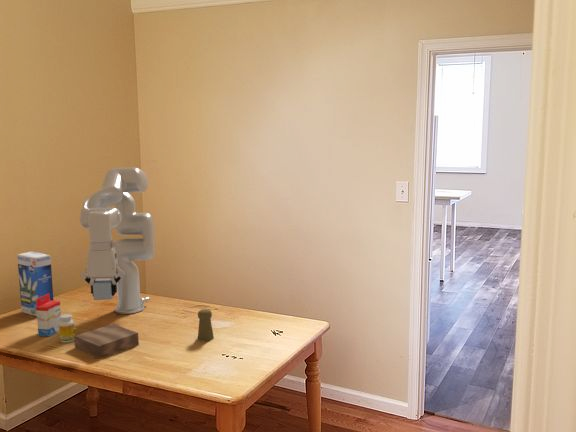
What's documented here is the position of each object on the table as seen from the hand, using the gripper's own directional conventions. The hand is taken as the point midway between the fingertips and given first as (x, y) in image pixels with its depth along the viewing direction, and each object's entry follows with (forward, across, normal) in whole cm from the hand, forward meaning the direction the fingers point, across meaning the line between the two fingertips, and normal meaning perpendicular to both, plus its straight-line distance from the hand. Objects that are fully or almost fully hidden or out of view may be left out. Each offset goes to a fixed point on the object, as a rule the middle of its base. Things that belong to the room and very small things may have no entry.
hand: (104, 294), depth 205 cm
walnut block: (+20, 0, 0) cm, 20 cm away
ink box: (+20, +26, -17) cm, 36 cm away
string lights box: (+20, +39, -43) cm, 61 cm away
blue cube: (+1, 0, 0) cm, 1 cm away
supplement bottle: (+20, +16, -8) cm, 27 cm away
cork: (+20, -35, -4) cm, 41 cm away
